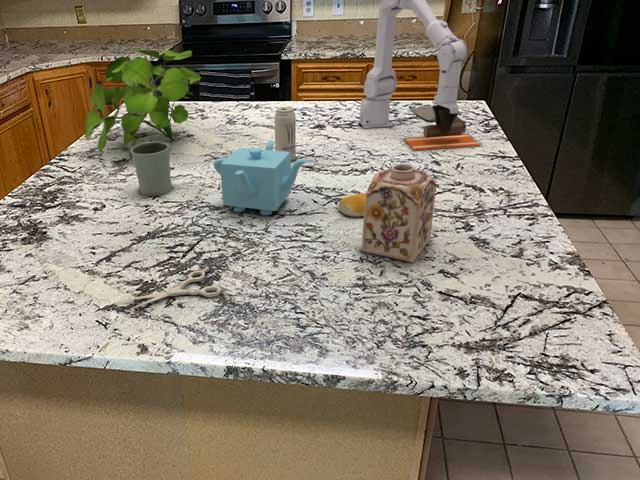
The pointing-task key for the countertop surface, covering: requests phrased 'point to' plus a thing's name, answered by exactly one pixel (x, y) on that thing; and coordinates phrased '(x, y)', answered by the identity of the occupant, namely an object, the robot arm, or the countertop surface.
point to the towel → (441, 142)
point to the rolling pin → (436, 130)
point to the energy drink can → (285, 131)
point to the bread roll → (353, 205)
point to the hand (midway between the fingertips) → (442, 131)
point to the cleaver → (433, 115)
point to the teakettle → (257, 178)
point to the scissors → (180, 291)
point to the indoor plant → (141, 96)
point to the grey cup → (152, 167)
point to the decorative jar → (398, 213)
